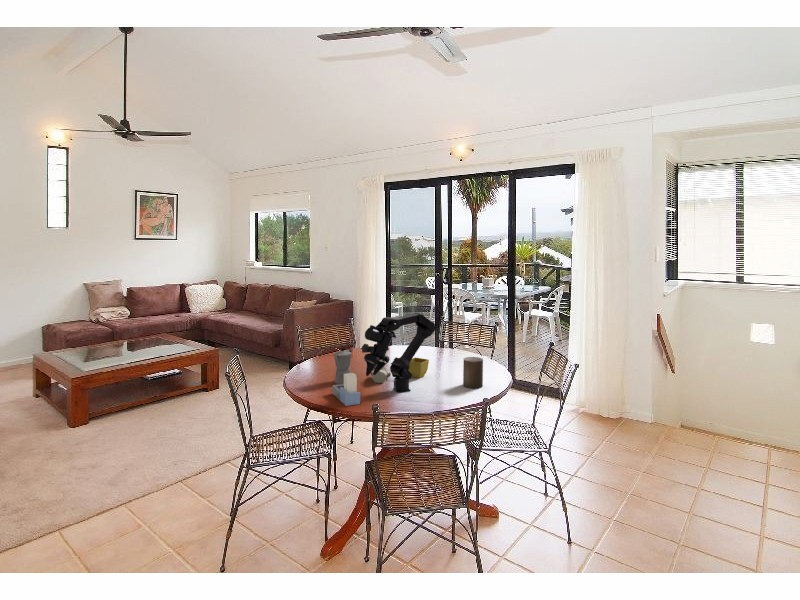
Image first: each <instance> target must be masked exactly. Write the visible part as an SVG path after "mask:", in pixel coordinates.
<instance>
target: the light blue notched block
mask: <svg viewBox="0 0 800 600" xmlns="http://www.w3.org/2000/svg"><path fill="white" fill-rule="evenodd" d="M339 401H340V403H342V404H343V405H345V406H346V407H348V406H354V405H360V404H361V392H360V391H357V392H356V393H349V394H348V392H347V391H346V390H344V389H343V388H340V400H339Z"/></svg>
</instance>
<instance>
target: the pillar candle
mask: <svg viewBox="0 0 800 600" xmlns="http://www.w3.org/2000/svg"><path fill="white" fill-rule="evenodd" d="M462 367H463V370H462V371H463V374H462V375H463V378H462V379H463V380H462V384H463V387H464V388H467V389H481V388H483V386H484V382H483V381H484V359H483V358H482V357H479V356H467V357H464V358H463V366H462Z"/></svg>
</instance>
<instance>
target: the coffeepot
mask: <svg viewBox="0 0 800 600" xmlns="http://www.w3.org/2000/svg"><path fill="white" fill-rule="evenodd" d="M352 354H353V352H352V349H350V348H348V349H345V347H341V350H340V351H335V352H333V356H334V363H335V367H336V371H335V377H334V378H335V379H334V384H335V385H339V384H344V374H347V373H352V372H351V369H350V367H351V362H352V361H351V360H352V356H353V355H352Z"/></svg>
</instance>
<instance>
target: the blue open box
mask: <svg viewBox="0 0 800 600" xmlns="http://www.w3.org/2000/svg"><path fill="white" fill-rule="evenodd" d="M340 388H343V389H344V384H333V385H332V388H331V389H332V390H331V391H332V395H333V396H335V397H336V398H337V399H338V400H339V401H340Z"/></svg>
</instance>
